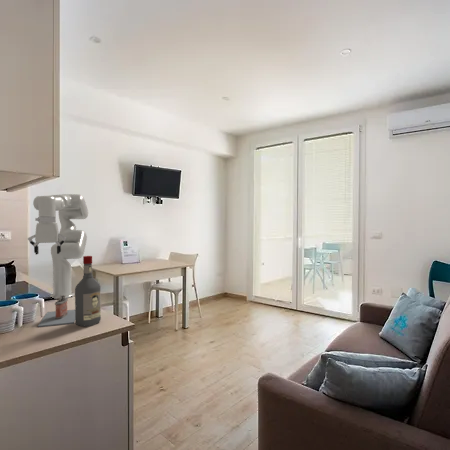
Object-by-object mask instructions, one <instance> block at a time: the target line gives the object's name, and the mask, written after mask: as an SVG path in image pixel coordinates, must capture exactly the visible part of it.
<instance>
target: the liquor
mask: <svg viewBox="0 0 450 450" xmlns="http://www.w3.org/2000/svg"><path fill="white" fill-rule="evenodd" d="M82 260H83V261H82V262H83V263H82V264H83V276H82V279H81V280H80V281H78V283H77V285H76V286H75V288H74V305H75V306H74V308H75V309H74V310H75V322H74V324H75V325H76V326H79V327H83V328H85V327H92V326H94V325H97V324H100V322H101V320H102V317H101V316H102V315H101V313H102V311H101V310H102V309H101V308H102V304H101V303H102V301H101V296H102V295H101V294H102V293H101V287H102V286H101V285H100V283H99V282H98V281H97V280H96V279H95V278H94V275H93V256H92V255H83V256H82Z"/></svg>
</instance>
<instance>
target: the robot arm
mask: <svg viewBox="0 0 450 450" xmlns="http://www.w3.org/2000/svg"><path fill="white" fill-rule="evenodd" d="M86 203H87V202H86V200H85V198H84V197H83V196H82V195H81V194H73V193H72V194H71V193H70V194H69V193H67V194H66V193H65V194H64V193H63V194H51V195H37V196H35V198H34V199H33V204H32V205H33V208H34V209H35V210H36V211H38V217H35V221H37V223H36V225H35V234H34V235H32V236H29V237H27V240H28V242H29V244H31V245H32V246H33V249H34V250H33V252H34V253H35V255H36V256H37V255H39V246H38V245H39V244H52V243H53V244H52V246H51V247H50V255H51V260H52V261H51V262H52V286H53V287H52V289H53V290H52V291H53V293H52V294H50V296H49V297H52V298H54V300H57V297H59V296H60V295H65V299H69V298H72V297H75V292H73V291H72V266H71V263H70V262H69V261H68V260H77V259H83V256H84V253H85V250H86V245H87V238H88V237H87V233H86V231H84V230H81V229H77V226H76V224H75V223H74V222H73V221H72V220H86V219H87V218H88V216H89V210H88V206H87V204H86ZM56 211H58V219H59V223H60V230H59V225H58V222H57V219H56V213H57V212H56ZM33 239H34V240H35V241H33ZM71 296H72V297H71ZM52 298H51V299H52Z"/></svg>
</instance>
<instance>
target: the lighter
mask: <svg viewBox="0 0 450 450" xmlns="http://www.w3.org/2000/svg"><path fill="white" fill-rule="evenodd" d="M68 299H69V298H65V295H60V296H59V297H57V299H56V301H55V302H54V305H55V311H56V317H55V319H62V318H64V317H65V316H67V315H68V312H67V310H68Z"/></svg>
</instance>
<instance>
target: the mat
mask: <svg viewBox="0 0 450 450" xmlns="http://www.w3.org/2000/svg"><path fill="white" fill-rule="evenodd" d="M67 312H68V315H67V316H65V317H64V318H62V319H55V317H56V310H54V311H47V312H46V313H45V315H44V316H43V318H42V319H41V320H40V322H39V323H38V325H37V327H38V328H43V327H54V326H63V325H72V324H75V309H67Z"/></svg>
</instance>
